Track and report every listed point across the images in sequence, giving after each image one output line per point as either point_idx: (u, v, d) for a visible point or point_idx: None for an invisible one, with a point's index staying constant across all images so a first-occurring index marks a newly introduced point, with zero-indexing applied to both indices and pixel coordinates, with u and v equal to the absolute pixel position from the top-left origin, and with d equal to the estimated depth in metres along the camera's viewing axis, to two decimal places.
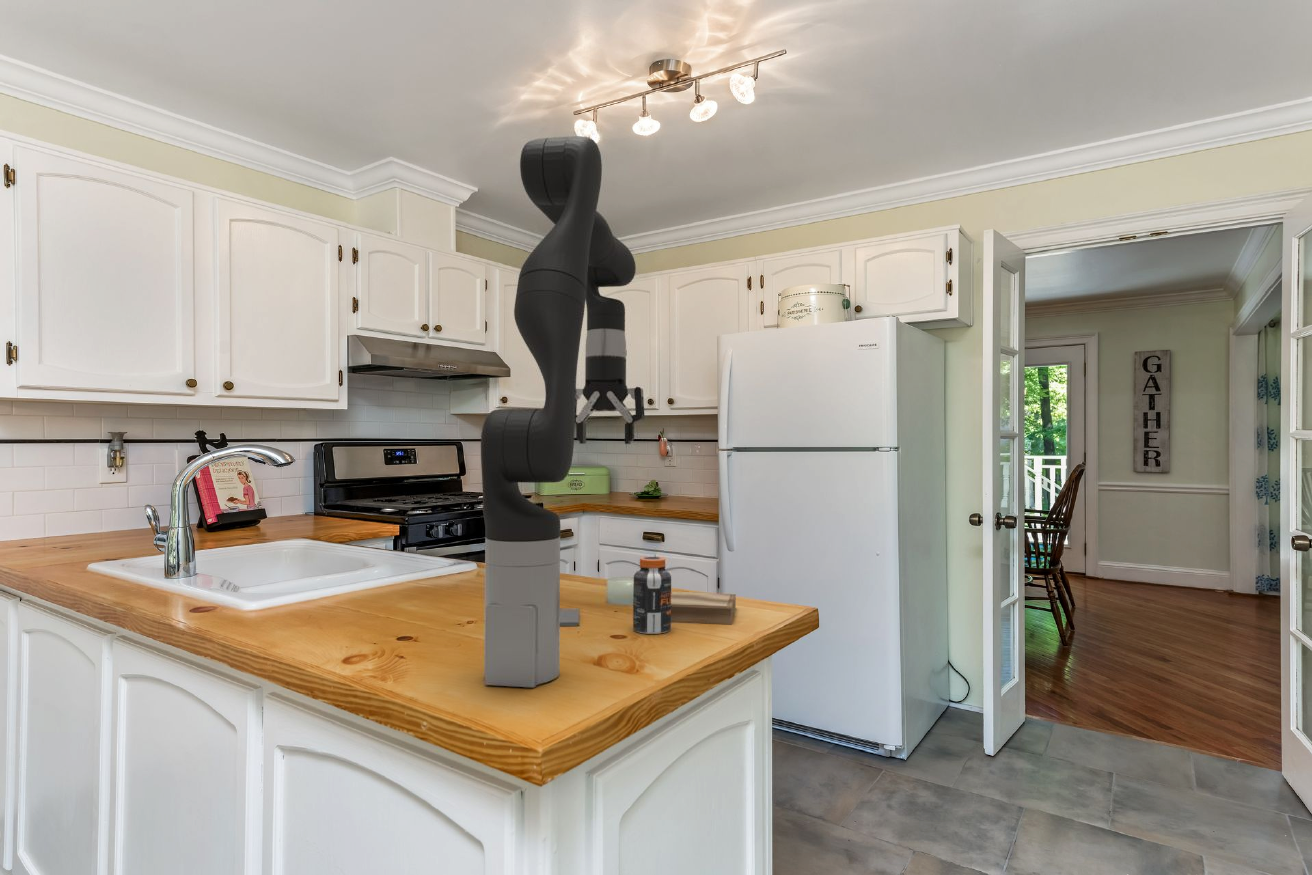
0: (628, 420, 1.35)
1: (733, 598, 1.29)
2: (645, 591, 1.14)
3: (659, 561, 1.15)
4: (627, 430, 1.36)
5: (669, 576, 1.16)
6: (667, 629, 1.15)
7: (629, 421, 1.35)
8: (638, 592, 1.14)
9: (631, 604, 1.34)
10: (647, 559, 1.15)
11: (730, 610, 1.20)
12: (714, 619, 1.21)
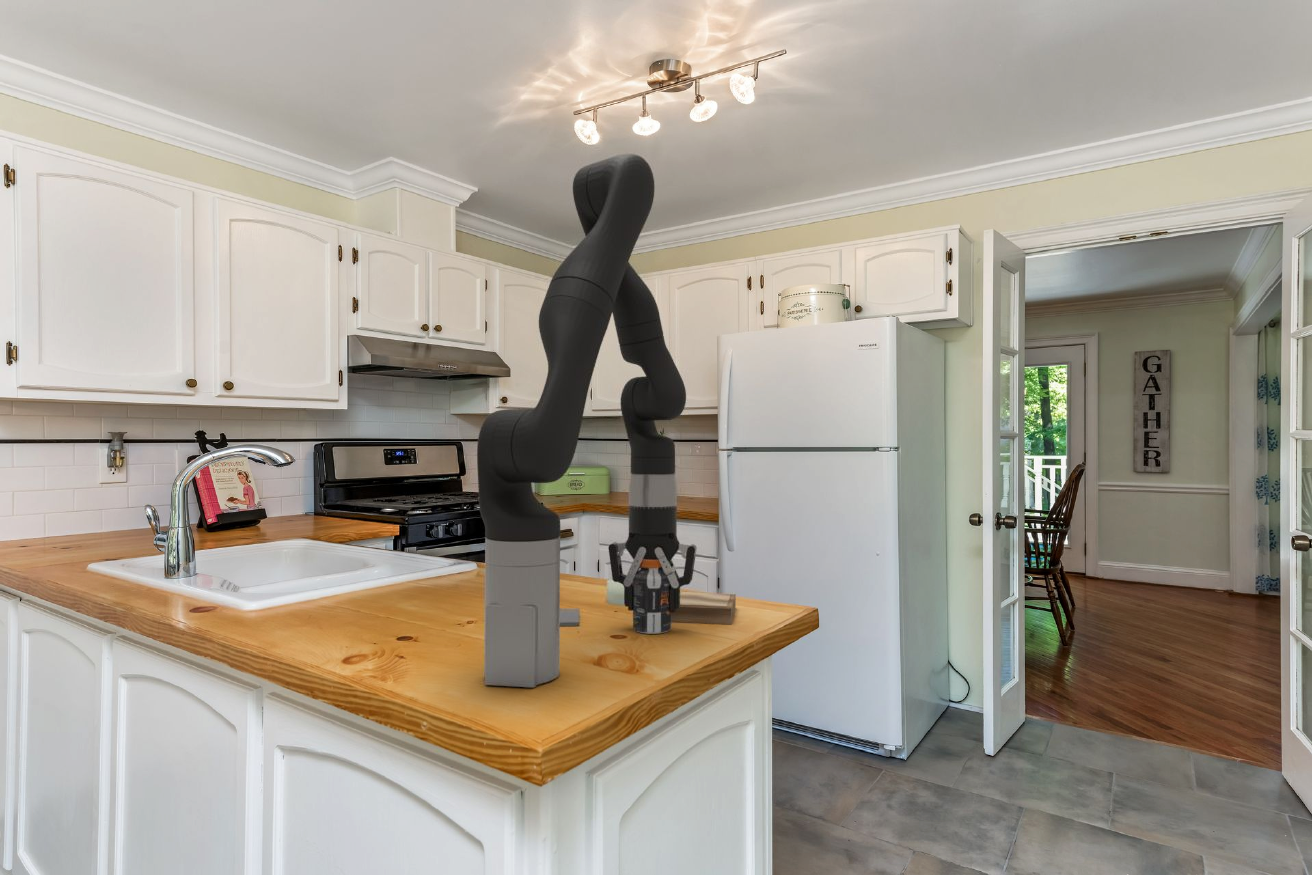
0: (674, 585, 1.15)
1: (733, 598, 1.29)
2: (645, 591, 1.14)
3: None
4: (672, 596, 1.15)
5: None
6: (667, 629, 1.15)
7: (675, 586, 1.15)
8: (638, 592, 1.14)
9: None
10: (647, 559, 1.15)
11: (730, 610, 1.20)
12: (714, 619, 1.21)
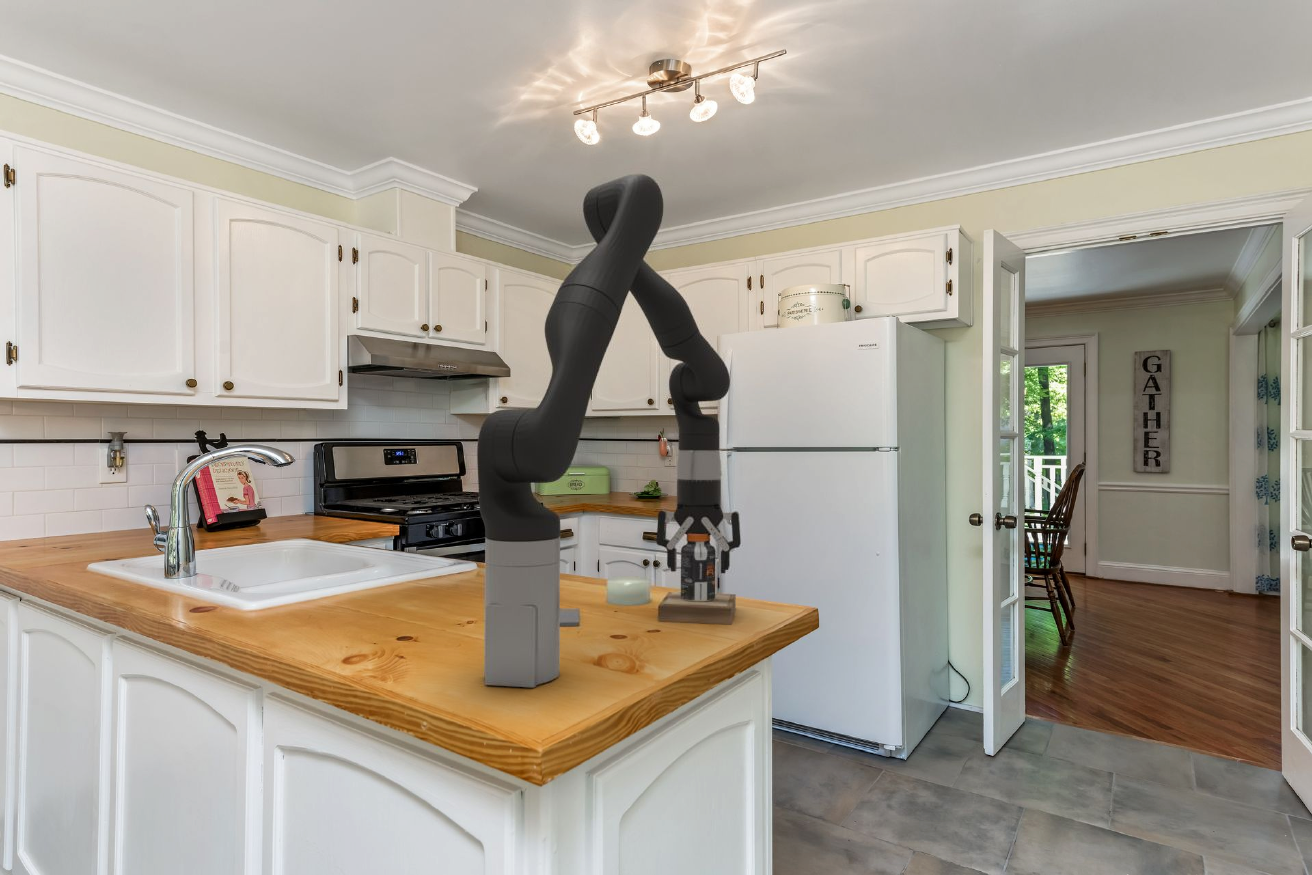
0: (724, 548, 1.25)
1: (733, 598, 1.29)
2: (692, 563, 1.25)
3: (705, 535, 1.26)
4: (723, 559, 1.26)
5: (714, 549, 1.26)
6: (712, 597, 1.25)
7: (726, 549, 1.25)
8: (686, 564, 1.25)
9: (631, 604, 1.34)
10: None
11: (730, 610, 1.20)
12: (714, 619, 1.21)
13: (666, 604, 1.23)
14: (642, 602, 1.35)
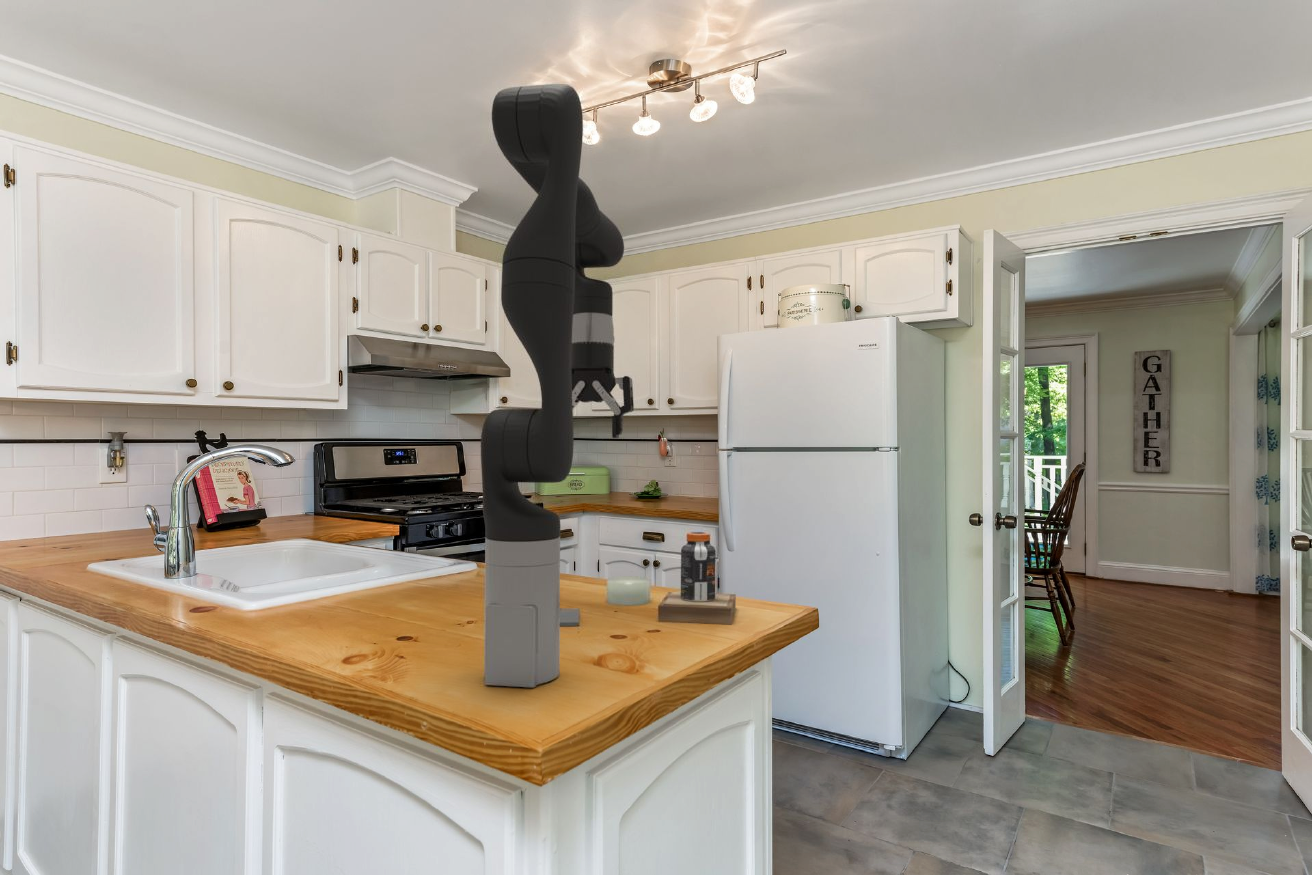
0: (616, 412, 1.25)
1: (733, 598, 1.29)
2: (692, 563, 1.25)
3: (705, 535, 1.26)
4: (615, 423, 1.25)
5: (714, 549, 1.26)
6: (712, 597, 1.25)
7: (617, 413, 1.25)
8: (686, 564, 1.25)
9: (631, 604, 1.34)
10: (694, 533, 1.26)
11: (730, 610, 1.20)
12: (714, 619, 1.21)
13: (666, 604, 1.23)
14: (642, 602, 1.35)
